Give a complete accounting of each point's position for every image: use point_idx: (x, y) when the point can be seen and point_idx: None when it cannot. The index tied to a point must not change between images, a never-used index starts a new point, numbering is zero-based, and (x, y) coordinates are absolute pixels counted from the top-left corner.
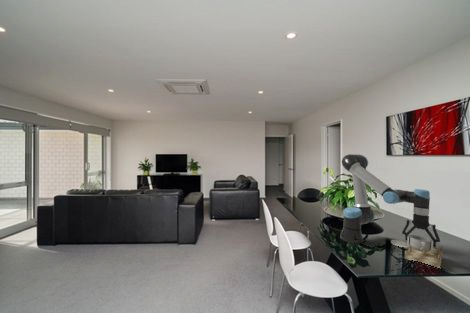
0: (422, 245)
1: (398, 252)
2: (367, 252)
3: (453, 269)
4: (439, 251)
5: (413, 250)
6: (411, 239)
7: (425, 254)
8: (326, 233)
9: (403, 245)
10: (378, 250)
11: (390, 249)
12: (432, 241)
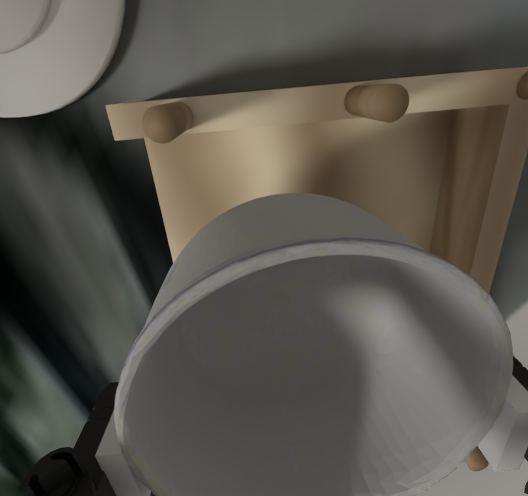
0: (342, 439)
1: (122, 307)
2: (13, 477)
3: (504, 291)
4: (500, 151)
5: (203, 175)
6: (200, 469)
7: (324, 191)
8: None
9: (37, 43)
10: (16, 398)
11: (43, 297)
12: (516, 448)
